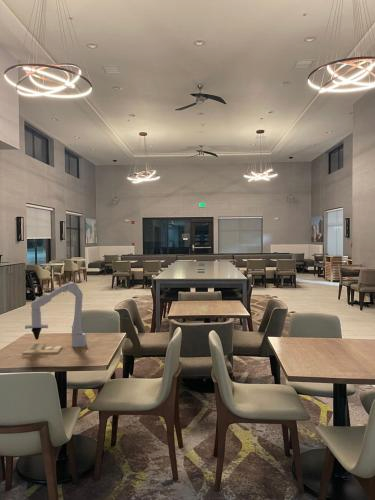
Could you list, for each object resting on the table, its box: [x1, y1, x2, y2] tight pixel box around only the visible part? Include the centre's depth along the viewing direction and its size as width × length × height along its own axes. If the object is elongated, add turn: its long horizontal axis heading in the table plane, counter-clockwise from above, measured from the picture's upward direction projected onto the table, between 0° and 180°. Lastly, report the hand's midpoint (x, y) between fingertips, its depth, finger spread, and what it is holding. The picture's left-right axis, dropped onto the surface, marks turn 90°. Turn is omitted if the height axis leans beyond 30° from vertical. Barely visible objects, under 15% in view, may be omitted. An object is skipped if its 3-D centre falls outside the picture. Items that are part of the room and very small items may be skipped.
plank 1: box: [26, 342, 46, 350], centre depth 266 cm, size 10×6×1 cm, turn 91°
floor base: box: [22, 347, 64, 356], centre depth 264 cm, size 22×14×2 cm, turn 91°
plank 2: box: [44, 345, 64, 351], centre depth 267 cm, size 10×6×1 cm, turn 91°
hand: (36, 339), depth 267 cm, fingers closed
